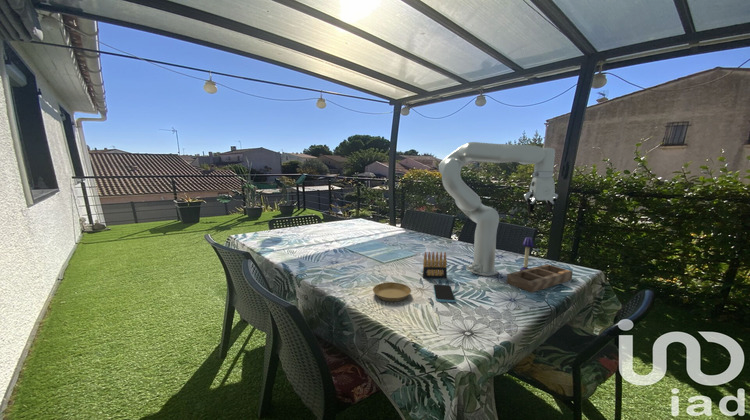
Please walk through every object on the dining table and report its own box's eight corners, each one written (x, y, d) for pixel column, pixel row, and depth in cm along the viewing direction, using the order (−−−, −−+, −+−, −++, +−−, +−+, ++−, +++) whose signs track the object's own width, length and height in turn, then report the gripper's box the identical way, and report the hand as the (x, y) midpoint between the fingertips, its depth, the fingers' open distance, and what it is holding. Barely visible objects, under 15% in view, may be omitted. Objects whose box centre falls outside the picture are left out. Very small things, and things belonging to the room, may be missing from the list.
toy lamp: (525, 269, 135) (528, 236, 133) (533, 272, 130) (536, 238, 128) (518, 270, 133) (520, 236, 131) (526, 273, 129) (528, 239, 127)
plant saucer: (367, 291, 109) (367, 285, 108) (399, 285, 114) (399, 279, 114) (382, 307, 95) (382, 300, 95) (418, 300, 101) (418, 293, 101)
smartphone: (450, 285, 113) (456, 300, 99) (450, 287, 113) (456, 303, 99) (432, 284, 114) (435, 299, 100) (432, 286, 114) (435, 302, 100)
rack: (531, 292, 107) (532, 281, 107) (506, 282, 117) (507, 273, 116) (571, 279, 121) (572, 270, 120) (546, 272, 130) (547, 263, 130)
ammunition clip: (423, 278, 123) (423, 252, 121) (422, 276, 125) (423, 251, 123) (446, 278, 122) (447, 252, 121) (445, 276, 124) (446, 251, 123)
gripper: (532, 175, 119) (529, 213, 121) (566, 176, 123) (562, 213, 125) (520, 175, 127) (517, 211, 129) (552, 175, 130) (548, 211, 132)
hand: (539, 212), depth 127 cm, fingers open, 9 cm apart
